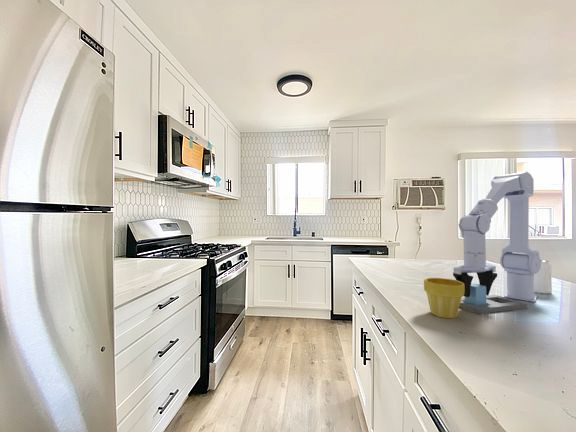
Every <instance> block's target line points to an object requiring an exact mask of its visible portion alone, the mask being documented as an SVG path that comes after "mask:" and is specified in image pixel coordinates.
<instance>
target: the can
mask: <svg viewBox="0 0 576 432" xmlns="http://www.w3.org/2000/svg"><path fill="white" fill-rule="evenodd" d="M540 260H541V268H540V270H539V271H538V272H537V273H536V274H534V294H535V293H536V294H543V295H545V294H546V295H549V294H552V292H553V291H552V290H553V287H552V286H553V285H552V280H553V279H552V264H551V263H550V261H549V260H547V259H540Z"/></svg>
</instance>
